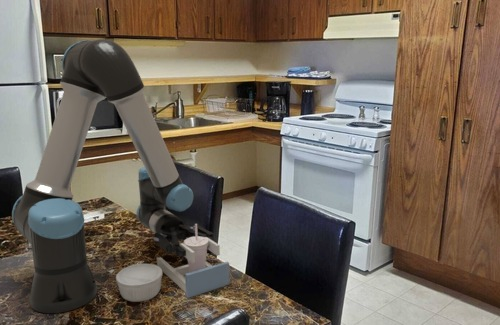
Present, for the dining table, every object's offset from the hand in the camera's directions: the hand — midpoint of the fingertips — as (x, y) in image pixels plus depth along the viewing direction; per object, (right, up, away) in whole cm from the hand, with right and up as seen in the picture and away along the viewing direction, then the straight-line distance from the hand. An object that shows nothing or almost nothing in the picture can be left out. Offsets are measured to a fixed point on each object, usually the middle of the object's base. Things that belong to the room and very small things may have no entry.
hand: (206, 253), depth 108 cm
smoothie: (-3, -7, +6) cm, 10 cm away
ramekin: (-16, -10, 0) cm, 19 cm away
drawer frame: (-5, -8, +9) cm, 13 cm away
